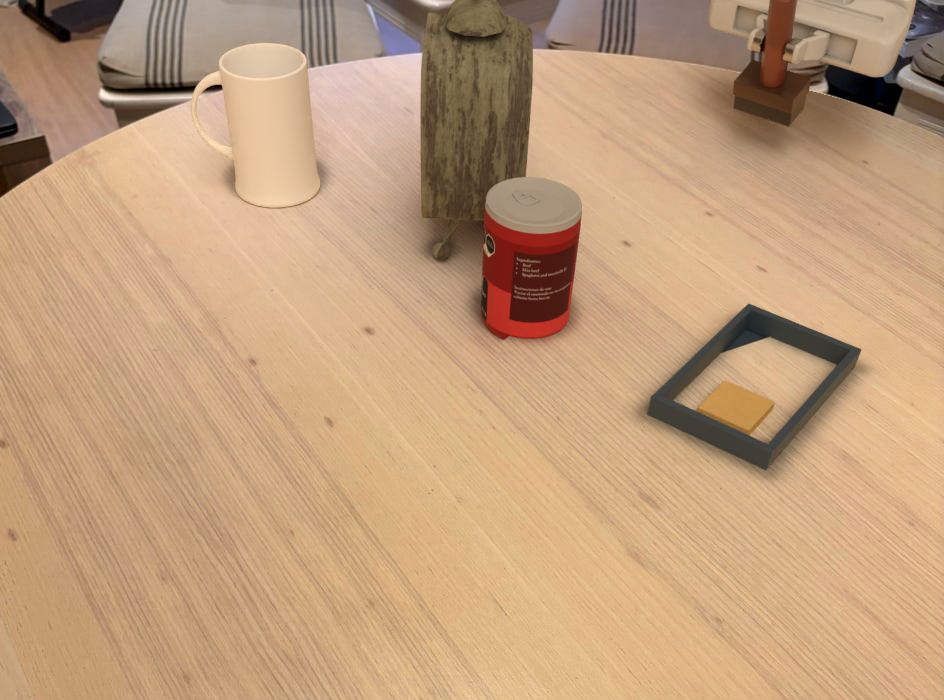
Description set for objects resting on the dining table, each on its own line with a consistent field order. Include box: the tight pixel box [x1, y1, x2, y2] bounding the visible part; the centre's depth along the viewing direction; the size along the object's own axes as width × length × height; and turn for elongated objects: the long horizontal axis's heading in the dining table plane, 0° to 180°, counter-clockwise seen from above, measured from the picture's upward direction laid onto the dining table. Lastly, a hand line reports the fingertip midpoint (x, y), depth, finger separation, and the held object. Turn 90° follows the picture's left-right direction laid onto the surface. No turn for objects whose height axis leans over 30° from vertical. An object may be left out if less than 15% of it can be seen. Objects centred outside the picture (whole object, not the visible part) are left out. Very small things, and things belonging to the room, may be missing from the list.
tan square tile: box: [696, 379, 776, 436], centre depth 81 cm, size 4×4×1 cm
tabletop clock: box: [420, 0, 534, 261], centre depth 89 cm, size 14×9×25 cm, turn 178°
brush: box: [732, 0, 812, 128], centre depth 103 cm, size 4×7×12 cm, turn 53°
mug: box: [190, 42, 321, 209], centre depth 99 cm, size 12×8×12 cm
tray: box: [646, 303, 862, 471], centre depth 82 cm, size 16×10×3 cm, turn 143°
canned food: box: [480, 176, 583, 340], centre depth 86 cm, size 8×8×11 cm
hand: (772, 49), depth 102 cm, fingers closed on brush, 2 cm apart
